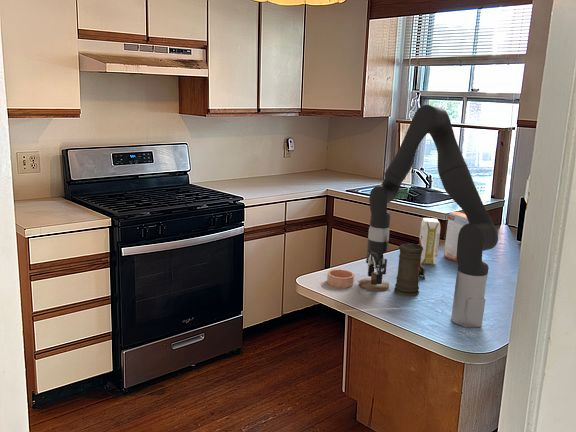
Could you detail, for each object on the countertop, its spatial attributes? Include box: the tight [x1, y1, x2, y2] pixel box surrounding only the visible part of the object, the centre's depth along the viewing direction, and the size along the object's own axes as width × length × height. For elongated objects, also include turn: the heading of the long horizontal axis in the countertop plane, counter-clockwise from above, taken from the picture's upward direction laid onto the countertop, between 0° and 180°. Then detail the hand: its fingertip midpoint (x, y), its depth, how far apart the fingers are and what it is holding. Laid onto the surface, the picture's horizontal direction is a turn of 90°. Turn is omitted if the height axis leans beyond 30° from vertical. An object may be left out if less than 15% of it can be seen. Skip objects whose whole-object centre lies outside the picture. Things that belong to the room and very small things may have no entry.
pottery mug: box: [419, 263, 426, 280], centre depth 214 cm, size 12×10×8 cm
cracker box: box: [443, 211, 469, 263], centre depth 237 cm, size 14×6×21 cm, turn 22°
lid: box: [358, 271, 390, 292], centre depth 201 cm, size 11×11×5 cm
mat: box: [357, 280, 392, 293], centre depth 201 cm, size 11×9×1 cm
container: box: [393, 242, 423, 297], centre depth 195 cm, size 9×9×18 cm
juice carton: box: [418, 217, 441, 266], centre depth 232 cm, size 8×9×19 cm
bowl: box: [326, 268, 355, 289], centre depth 202 cm, size 10×10×4 cm
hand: (374, 279), depth 201 cm, fingers open, 7 cm apart
